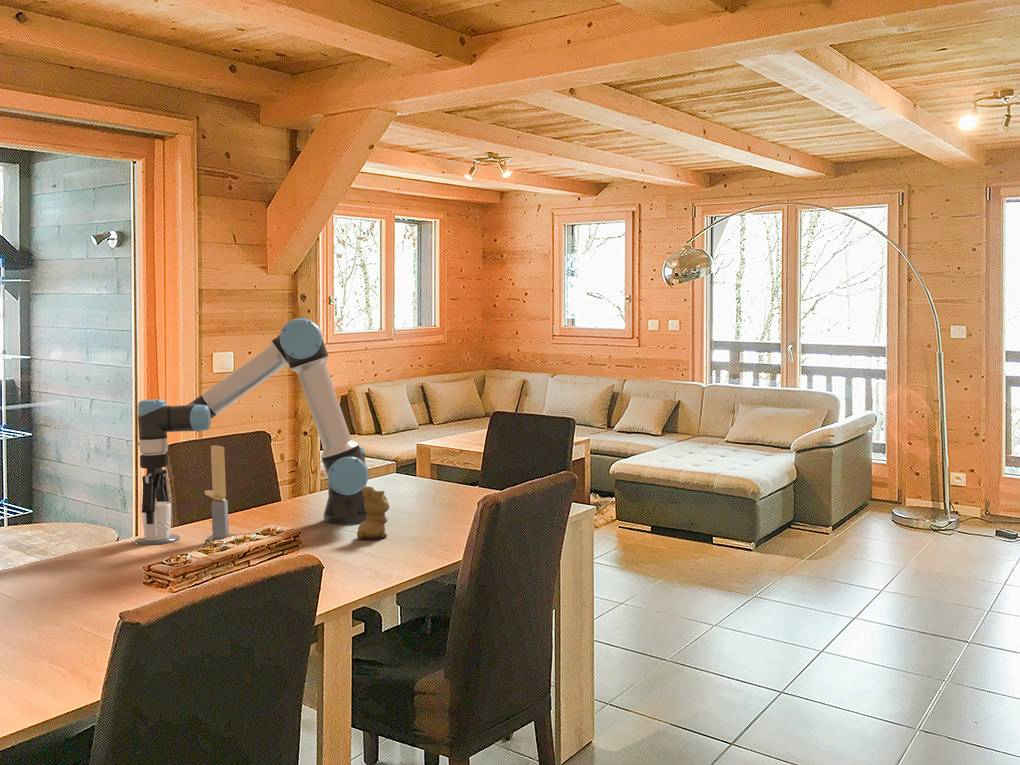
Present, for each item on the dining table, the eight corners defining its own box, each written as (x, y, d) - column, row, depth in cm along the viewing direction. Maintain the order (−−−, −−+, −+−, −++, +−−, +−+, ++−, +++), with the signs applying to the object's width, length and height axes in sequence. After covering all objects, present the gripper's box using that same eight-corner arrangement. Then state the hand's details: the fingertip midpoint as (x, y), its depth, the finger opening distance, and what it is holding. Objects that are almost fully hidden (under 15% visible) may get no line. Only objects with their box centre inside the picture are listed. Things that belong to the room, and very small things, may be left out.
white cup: (162, 541, 259) (160, 506, 258) (137, 541, 260) (135, 506, 260) (177, 535, 266) (176, 501, 266) (153, 535, 268) (151, 501, 268)
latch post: (236, 538, 264) (235, 498, 264) (230, 543, 257) (229, 502, 257) (211, 538, 264) (210, 499, 263) (205, 544, 257) (203, 503, 256)
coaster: (184, 535, 270) (184, 533, 270) (172, 544, 258) (172, 542, 258) (143, 536, 269) (143, 534, 269) (128, 545, 257) (128, 543, 257)
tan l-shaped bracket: (228, 501, 258) (226, 447, 257) (217, 502, 256) (215, 448, 256) (213, 494, 271) (211, 442, 270) (202, 495, 269) (200, 443, 269)
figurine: (397, 535, 262) (396, 483, 261) (384, 542, 254) (382, 488, 253) (367, 534, 265) (365, 482, 265) (352, 540, 257) (350, 487, 257)
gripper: (152, 449, 273) (155, 524, 274) (126, 458, 251) (130, 540, 252) (178, 448, 273) (181, 523, 274) (154, 457, 252) (158, 539, 253)
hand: (157, 531), depth 263 cm, fingers open, 9 cm apart
